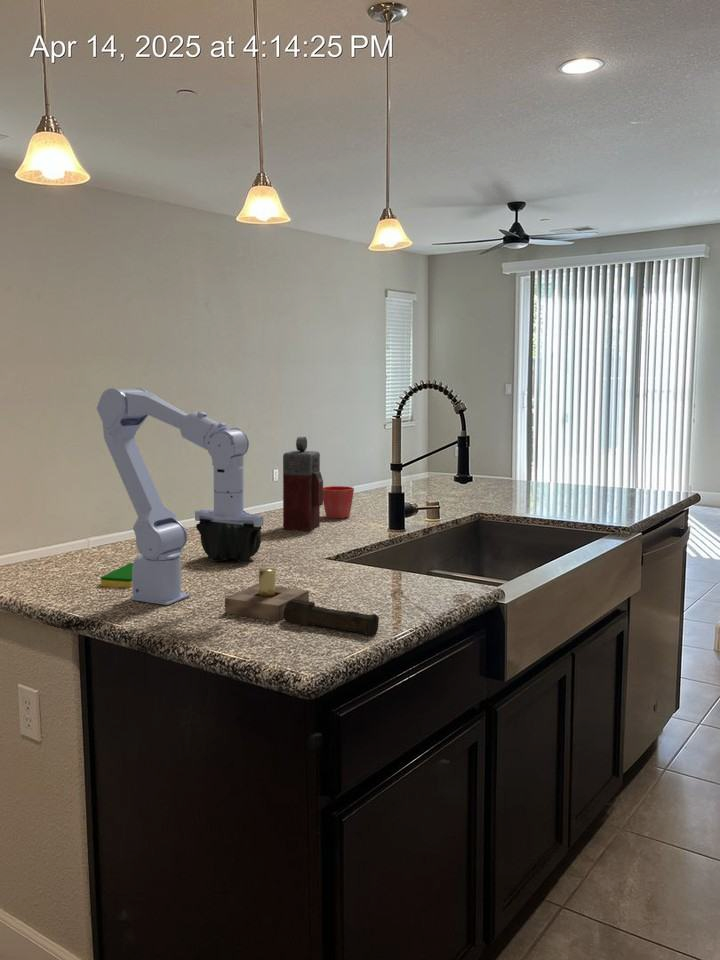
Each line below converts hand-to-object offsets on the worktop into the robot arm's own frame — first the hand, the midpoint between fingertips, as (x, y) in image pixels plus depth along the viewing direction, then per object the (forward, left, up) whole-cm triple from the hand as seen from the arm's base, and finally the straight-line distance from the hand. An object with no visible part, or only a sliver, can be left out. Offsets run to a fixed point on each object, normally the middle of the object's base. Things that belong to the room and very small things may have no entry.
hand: (228, 559), depth 156 cm
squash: (-24, +37, -10) cm, 45 cm away
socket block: (+7, +3, -10) cm, 12 cm away
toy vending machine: (-27, +83, -10) cm, 88 cm away
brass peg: (+7, +2, -10) cm, 12 cm away
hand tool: (+23, -3, -10) cm, 26 cm away
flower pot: (-27, +106, -10) cm, 109 cm away
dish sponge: (-33, +10, -11) cm, 36 cm away
